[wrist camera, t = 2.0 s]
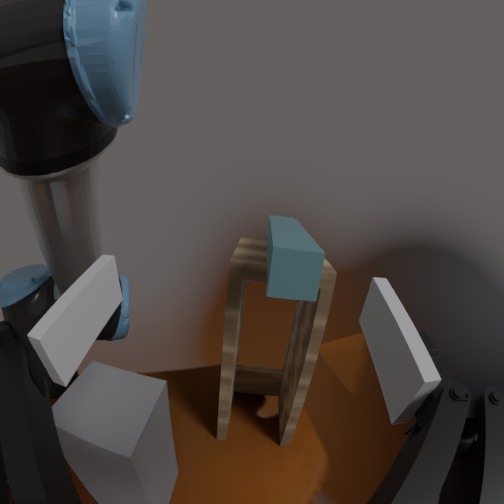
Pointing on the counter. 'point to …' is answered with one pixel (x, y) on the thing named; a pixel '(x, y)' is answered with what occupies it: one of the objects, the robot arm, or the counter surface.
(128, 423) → the stone block
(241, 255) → the wooden stool frame
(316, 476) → the counter surface
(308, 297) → the teal block
